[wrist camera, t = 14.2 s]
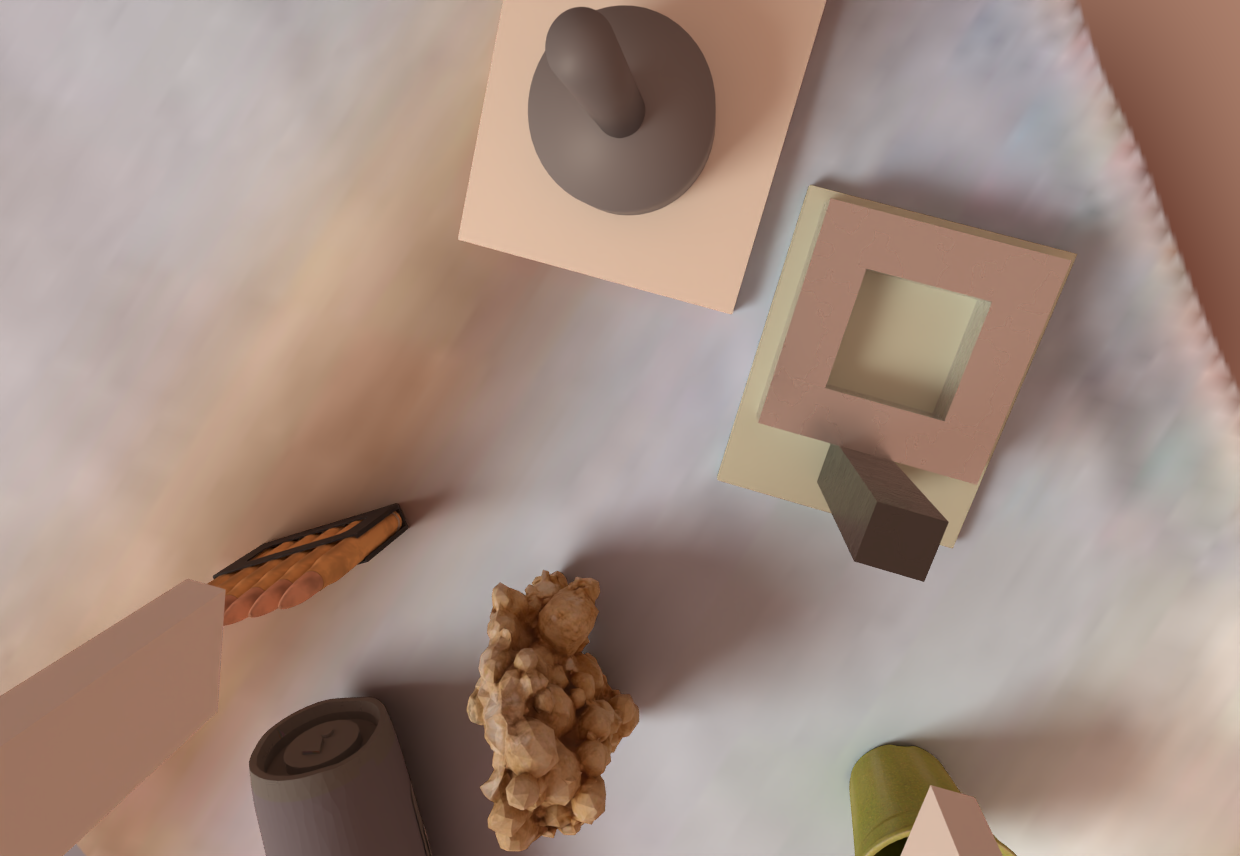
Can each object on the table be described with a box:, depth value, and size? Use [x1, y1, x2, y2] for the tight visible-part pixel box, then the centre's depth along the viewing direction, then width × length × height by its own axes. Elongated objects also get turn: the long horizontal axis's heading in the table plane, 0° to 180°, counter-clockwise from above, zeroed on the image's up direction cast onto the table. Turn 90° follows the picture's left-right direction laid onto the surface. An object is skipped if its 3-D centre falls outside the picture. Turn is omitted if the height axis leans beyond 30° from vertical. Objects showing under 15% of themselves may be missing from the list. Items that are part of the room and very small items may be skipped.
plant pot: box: [849, 744, 1017, 856], centre depth 40 cm, size 9×9×9 cm
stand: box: [458, 0, 826, 314], centre depth 30 cm, size 16×16×15 cm
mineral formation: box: [467, 570, 639, 851], centre depth 38 cm, size 8×13×15 cm, turn 19°
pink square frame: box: [756, 198, 1071, 582], centre depth 32 cm, size 15×12×11 cm
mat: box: [717, 185, 1077, 548], centre depth 38 cm, size 17×14×1 cm
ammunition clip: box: [208, 504, 408, 626], centre depth 40 cm, size 11×2×12 cm, turn 109°
